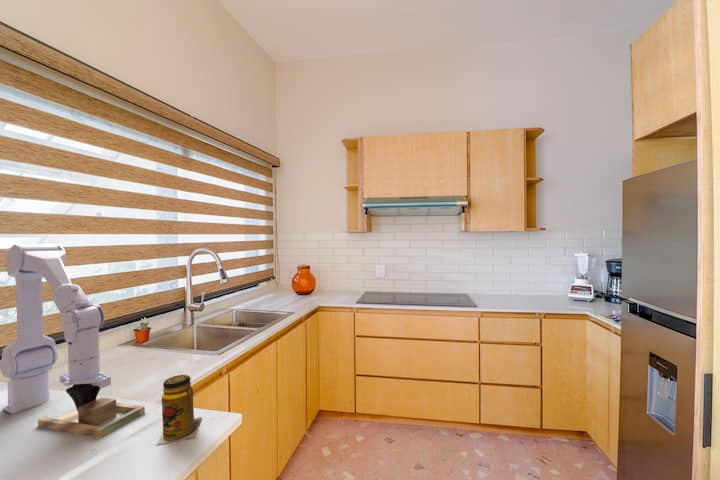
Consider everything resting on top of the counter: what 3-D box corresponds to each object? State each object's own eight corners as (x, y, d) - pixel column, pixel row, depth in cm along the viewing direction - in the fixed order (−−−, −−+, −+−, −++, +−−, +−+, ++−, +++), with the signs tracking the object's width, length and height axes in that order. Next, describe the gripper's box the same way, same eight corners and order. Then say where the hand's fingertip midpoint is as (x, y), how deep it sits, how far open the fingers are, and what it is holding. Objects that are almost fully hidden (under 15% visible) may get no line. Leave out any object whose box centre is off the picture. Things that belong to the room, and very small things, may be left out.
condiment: (156, 445, 66) (154, 387, 67) (167, 424, 75) (165, 372, 75) (195, 438, 69) (193, 381, 69) (202, 418, 77) (200, 367, 77)
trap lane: (38, 430, 74) (37, 419, 74) (87, 408, 84) (87, 398, 84) (99, 442, 68) (98, 430, 68) (144, 416, 78) (144, 406, 78)
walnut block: (78, 424, 74) (78, 407, 74) (101, 413, 79) (101, 397, 79) (93, 427, 72) (93, 409, 72) (116, 416, 77) (115, 399, 77)
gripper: (43, 361, 75) (45, 419, 75) (87, 365, 71) (88, 427, 71) (77, 351, 82) (79, 404, 82) (119, 354, 78) (121, 410, 78)
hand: (86, 414), depth 77 cm, fingers closed
